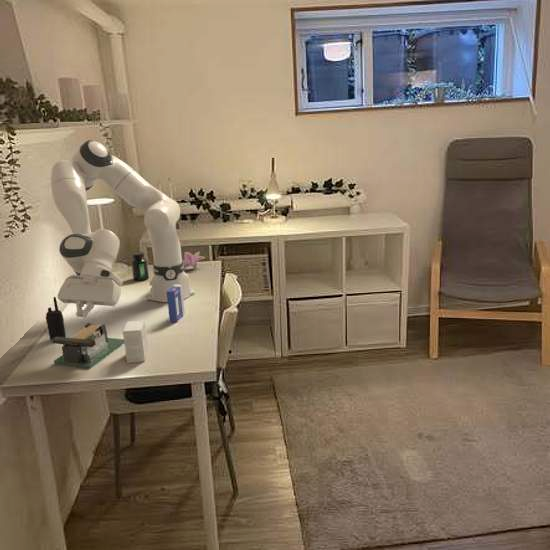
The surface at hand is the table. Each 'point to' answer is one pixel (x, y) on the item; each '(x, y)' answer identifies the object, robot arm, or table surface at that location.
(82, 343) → the lever
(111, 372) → the table surface
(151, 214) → the robot arm
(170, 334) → the table surface
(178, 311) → the walkman
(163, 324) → the table surface
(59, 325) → the two-way radio
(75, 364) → the board
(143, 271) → the supplement bottle
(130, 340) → the small box
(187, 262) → the lily
